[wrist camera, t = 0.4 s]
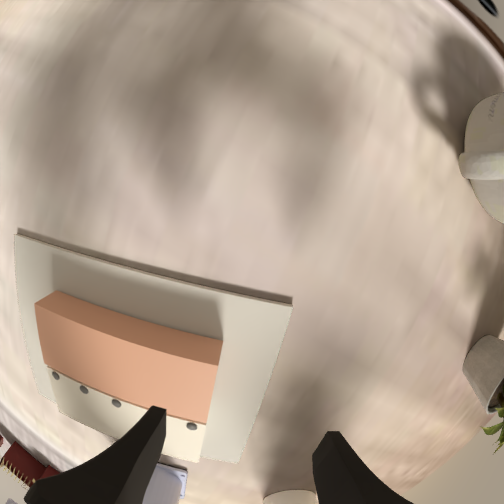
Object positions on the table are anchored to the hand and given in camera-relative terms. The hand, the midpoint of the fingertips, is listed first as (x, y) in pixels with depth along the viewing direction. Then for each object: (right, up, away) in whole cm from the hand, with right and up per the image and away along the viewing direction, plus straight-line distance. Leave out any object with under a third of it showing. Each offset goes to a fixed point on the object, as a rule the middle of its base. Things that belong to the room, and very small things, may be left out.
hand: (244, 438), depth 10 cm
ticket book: (-10, -5, +10) cm, 16 cm away
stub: (-9, +1, +9) cm, 13 cm away
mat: (-11, -2, +10) cm, 15 cm away
